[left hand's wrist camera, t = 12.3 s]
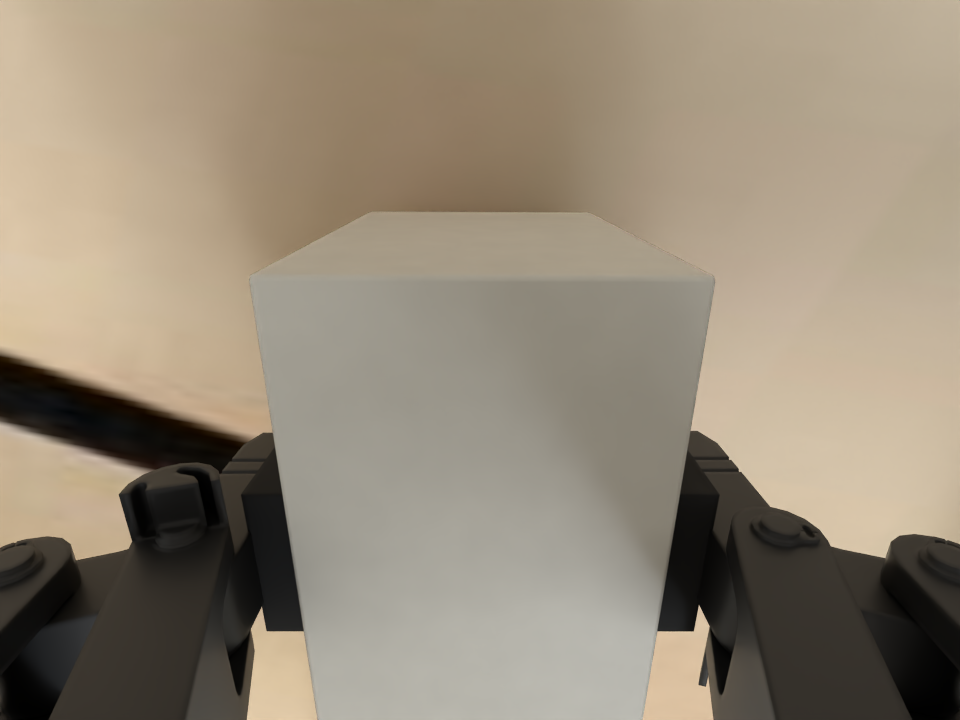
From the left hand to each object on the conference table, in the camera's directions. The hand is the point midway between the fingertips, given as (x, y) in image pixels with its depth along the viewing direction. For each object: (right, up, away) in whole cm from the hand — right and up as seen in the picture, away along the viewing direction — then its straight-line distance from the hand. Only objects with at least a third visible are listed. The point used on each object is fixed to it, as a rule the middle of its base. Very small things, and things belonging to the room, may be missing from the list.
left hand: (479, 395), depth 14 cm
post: (0, -33, +13) cm, 35 cm away
